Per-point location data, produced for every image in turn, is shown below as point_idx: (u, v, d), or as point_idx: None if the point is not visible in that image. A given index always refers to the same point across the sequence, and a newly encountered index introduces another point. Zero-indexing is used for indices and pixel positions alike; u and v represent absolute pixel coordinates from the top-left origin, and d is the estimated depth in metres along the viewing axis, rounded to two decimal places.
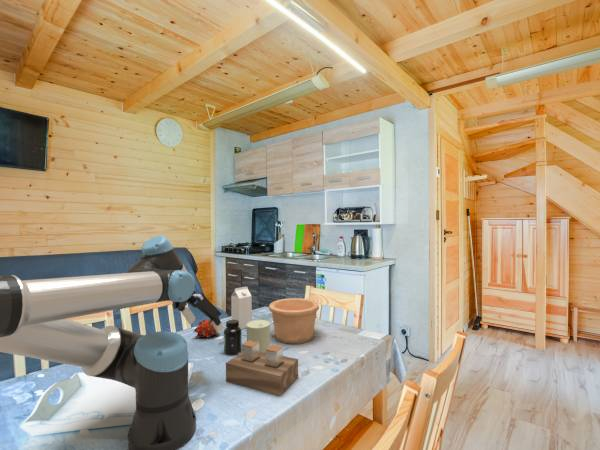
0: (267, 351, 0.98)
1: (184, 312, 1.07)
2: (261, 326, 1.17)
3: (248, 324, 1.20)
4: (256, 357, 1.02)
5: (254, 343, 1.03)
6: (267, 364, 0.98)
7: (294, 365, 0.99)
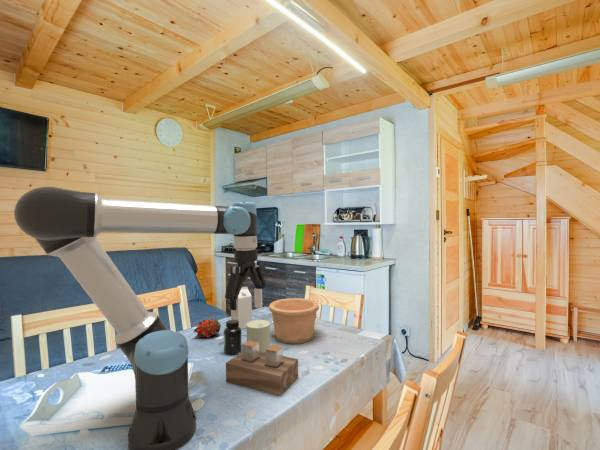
0: (267, 351, 0.98)
1: (255, 290, 1.09)
2: (261, 326, 1.17)
3: (248, 324, 1.20)
4: (256, 357, 1.02)
5: (254, 343, 1.03)
6: (267, 364, 0.98)
7: (294, 365, 0.99)
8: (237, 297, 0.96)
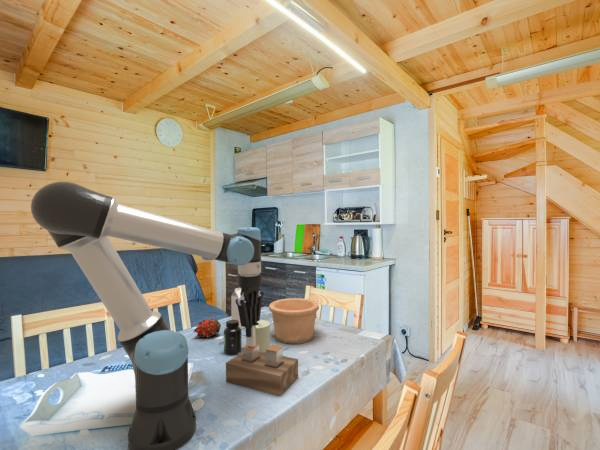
0: (267, 351, 0.98)
1: None
2: (261, 326, 1.17)
3: None
4: None
5: (254, 346, 1.03)
6: (267, 364, 0.98)
7: (294, 365, 0.99)
8: (252, 324, 1.01)
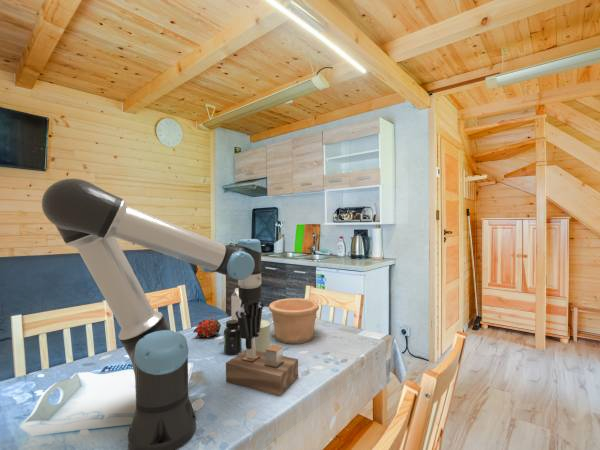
0: (267, 351, 0.98)
1: None
2: (261, 326, 1.17)
3: None
4: None
5: None
6: (267, 364, 0.98)
7: (294, 365, 0.99)
8: (252, 335, 1.02)
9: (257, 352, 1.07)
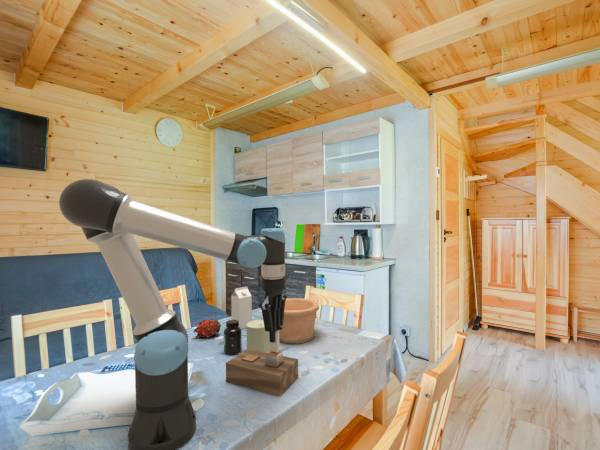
0: (267, 355, 0.98)
1: None
2: (261, 326, 1.17)
3: (248, 324, 1.20)
4: None
5: (254, 357, 1.03)
6: None
7: (294, 365, 0.99)
8: (276, 328, 0.98)
9: (257, 352, 1.07)
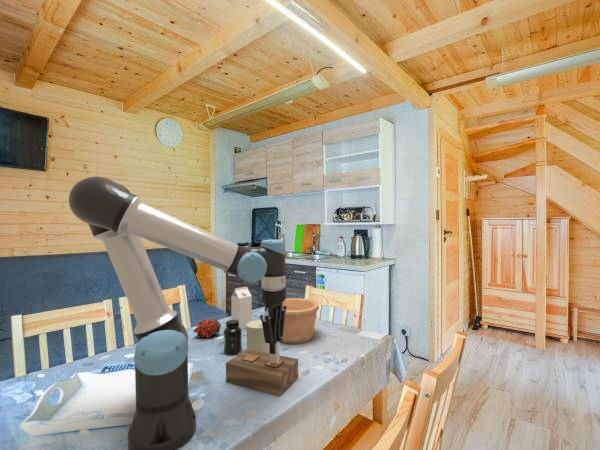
0: None
1: None
2: (261, 326, 1.17)
3: (248, 324, 1.20)
4: None
5: (254, 357, 1.03)
6: None
7: (294, 365, 0.99)
8: (276, 340, 0.98)
9: (257, 352, 1.07)
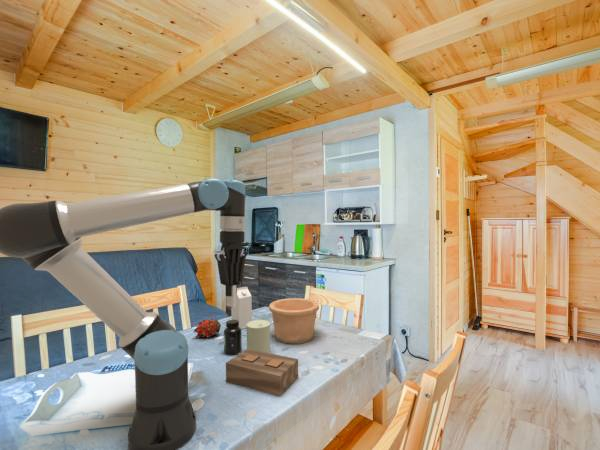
0: None
1: None
2: (261, 326, 1.17)
3: (248, 324, 1.20)
4: None
5: (254, 357, 1.03)
6: None
7: (294, 365, 0.99)
8: (232, 282, 0.96)
9: (257, 352, 1.07)
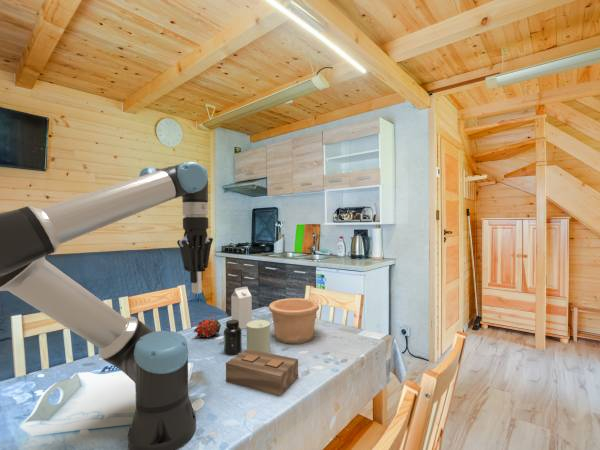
0: None
1: None
2: (261, 326, 1.17)
3: (248, 324, 1.20)
4: None
5: (254, 357, 1.03)
6: None
7: (294, 365, 0.99)
8: (197, 269, 0.95)
9: (257, 352, 1.07)
